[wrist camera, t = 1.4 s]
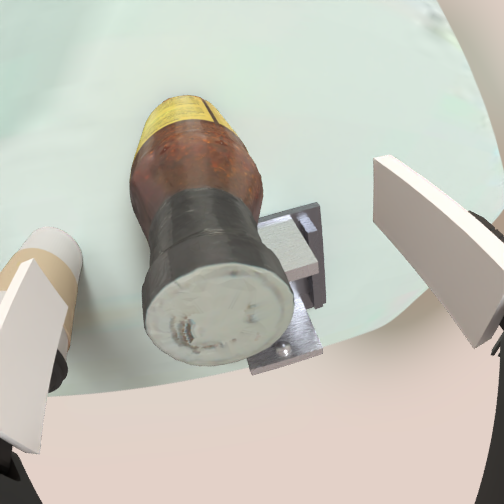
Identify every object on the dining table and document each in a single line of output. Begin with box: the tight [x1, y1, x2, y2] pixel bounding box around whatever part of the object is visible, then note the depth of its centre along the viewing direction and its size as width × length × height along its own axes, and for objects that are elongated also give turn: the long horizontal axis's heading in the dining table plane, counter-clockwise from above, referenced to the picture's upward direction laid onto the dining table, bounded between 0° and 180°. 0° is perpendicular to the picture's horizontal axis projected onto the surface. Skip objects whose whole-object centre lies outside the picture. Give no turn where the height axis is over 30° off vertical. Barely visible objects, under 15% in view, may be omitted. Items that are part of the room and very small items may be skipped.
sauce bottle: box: [130, 95, 295, 366], centre depth 15 cm, size 6×6×20 cm
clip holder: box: [247, 202, 326, 375], centre depth 31 cm, size 14×14×8 cm
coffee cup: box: [0, 227, 82, 393], centre depth 21 cm, size 9×9×15 cm
